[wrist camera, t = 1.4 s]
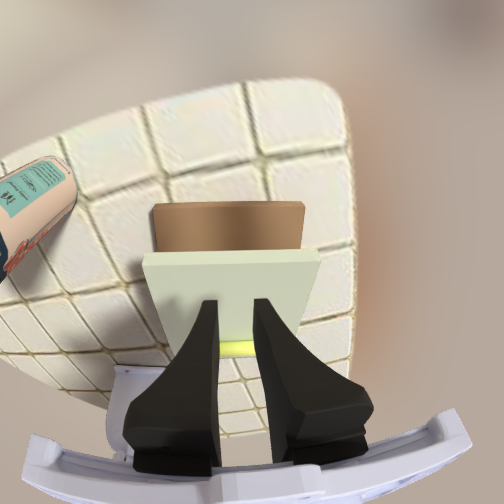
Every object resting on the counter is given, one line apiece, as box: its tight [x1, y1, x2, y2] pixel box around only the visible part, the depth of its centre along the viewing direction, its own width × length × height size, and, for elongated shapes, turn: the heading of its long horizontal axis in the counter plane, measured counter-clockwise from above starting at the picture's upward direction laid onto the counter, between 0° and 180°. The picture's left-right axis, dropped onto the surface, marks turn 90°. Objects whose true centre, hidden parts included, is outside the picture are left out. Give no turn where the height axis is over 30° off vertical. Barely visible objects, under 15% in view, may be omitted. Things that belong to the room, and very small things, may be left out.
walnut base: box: [153, 201, 305, 252], centre depth 22 cm, size 10×14×1 cm
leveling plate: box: [142, 249, 321, 359], centre depth 20 cm, size 10×12×2 cm
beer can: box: [0, 156, 77, 284], centre depth 12 cm, size 5×5×12 cm
